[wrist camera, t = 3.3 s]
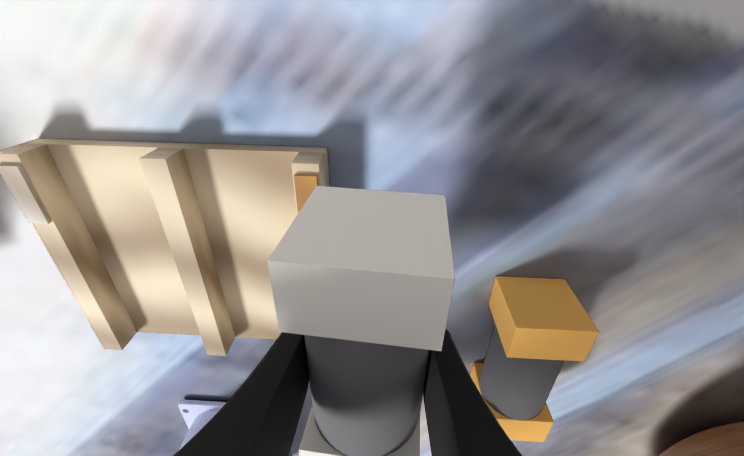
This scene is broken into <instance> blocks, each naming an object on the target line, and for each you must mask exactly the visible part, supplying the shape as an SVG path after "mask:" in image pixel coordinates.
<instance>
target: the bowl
mask: <svg viewBox="0 0 744 456" xmlns="http://www.w3.org/2000/svg"><path fill="white" fill-rule="evenodd" d="M659 456H744V422H737V423H732V424H726V425H722V426H718V427H714V428H710V429H707V430H704V431H701V432H698V433H696V434H693V435H691V436H689V437H687V438H685V439H683V440H681V441H679V442H677V443H675V444H674V445H672V446H671V447H669V448H668V449H667V450H665V451H664V452H663V453H661V454H660V455H659Z"/></svg>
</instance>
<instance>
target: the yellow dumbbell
mask: <svg viewBox="0 0 744 456" xmlns="http://www.w3.org/2000/svg"><path fill="white" fill-rule="evenodd" d="M489 306H490V309H491V312H492V315H493V318H494V321H495V325H494V328H493V332H492V335H491V339H490V343H489V346H488V350H487V354H486V357H485V361H484V363H474V364H473V368H472V372H471V378H472V380H473V382H474V383H475V385H476V387H477V389H478V390H479V392H480V394H481V396H482V397H483V399H484V401H485V402H486V404H487V405H488V407H489V409H490V410H491V412H492V413H493V415H494V416H495V418H496V420H497V421H498V423H499V424H500V426H501V427H502V428H503V430H504V431H505V433H506V434H507V436H508V437H509V439H510V440H521V441H536V442H544V441H545V439H546V437H547V435H548V433H549V431H550V429H551V427H552V425H553V423H554V421H553V419H552V416H551V414H550V411H549V409H548V406H547V404H546V400H547V398H548V396H549V393H550V391H551V389H552V387H553V385H554V383H555V380H556V378H557V376H558V374H559V372H560V369H561V367H562V365H563V363H564V361H584V362H585V360H586V358H587V356H588V354H589V352H590V350H591V348H592V346H593V344H594V342H595V340H596V338H597V336H598V334H599V330H598V329H597V327H596V326H595V324H594V323H593V321H592V320H591V318H590V317H589V315H588V314H587V312H586V311H585V309H584V308H583V306H582V305H581V303H580V302H579V300H578V298H577V297H576V295H575V294H574V292H573V291H572V289H571V288H570V286H569V285H568V283H567V282H566V280H565V279H549V278H527V277H504V276H496V277H495V281H494V285H493V289H492V293H491V297H490V300H489Z"/></svg>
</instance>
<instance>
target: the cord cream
mask: <svg viewBox="0 0 744 456" xmlns="http://www.w3.org/2000/svg"><path fill="white" fill-rule="evenodd" d="M267 262H268V268H269V274H270V280H271V286H272V292H273V298H274V304H275V310H276V316H277V322H278V328H279V332H285V333H293V334H301V335H304V336H305V345H306V354H307V363H308V372H309V380H310V389H311V398H312V406H311V410H310V413H309V416H308V420H307V423H306V427H305V430H304V433H303V437H302V440H301V444H300V447H299V454H300V456H419V455H420V409H421V403H422V397H423V390H424V384H425V378H426V372H427V366H428V359H429V353H430V350H435V351H441V350H442V345H443V339H444V334H445V329H446V323H447V318H448V313H449V307H450V302H451V297H452V291H453V286H454V281H455V277H454V268H453V260H452V251H451V243H450V234H449V226H448V217H447V209H446V200H445V195H432V194H419V193H405V192H392V191H379V190H366V189H352V188H339V187H326V186H316V187H315V189H314V190H313V192H312V193H311V195H310V196H309V198H308V199H307V201H306V202H305V204H304V205H303V207H302V209H301V210H300V212H299V213H298V215H297V216H296V218H295V219H294V221H293V222H292V224H291V225H290V227H289V228H288V230H287V231H286V233H285V234H284V236H283V237H282V239H281V240H280V242H279V243H278V245H277V246H276V248H275V250H274V251H273V253H272V254H271V256H270V257H269V259H268V260H267Z"/></svg>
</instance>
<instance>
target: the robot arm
mask: <svg viewBox="0 0 744 456" xmlns="http://www.w3.org/2000/svg"><path fill="white" fill-rule="evenodd" d="M308 383H309V372H308V363H307V354H306V345H305V336H304V335H301V334H293V333H285V332H281V334H280V335H279V337H278V338H277V340H276V341H275V343H274V344H273V345H272V347H271V348H270V350H269V351H268V352H267V354H266V355H265V356H264V358H263V359H262V360H261V361H260V363H259V364H258V365H257V367H256V368H255V369H254V371H253V372H252V373H251V374H250V376H249V377H248V378H247V379H246V380H245V382H244V383H243V384H242V385H241V386H240V387H239V389H238V390H237V391H236V392H235V393H234V394H233V396H232V397H231V398H230V399H229V400H228V401H227V402H216V401H199V400H181V401H180V403H179V405H178V406H179V409H180V411H181V413H182V415H183V417H184V419H185V422H186V424H187V426H188V428H189V431H188V433H187V435H186V437H185V439H184V441H183V443H182V445H181V447H180V449H179V451H178V452H177V453H175V454H174V455H173V456H288V455H289V452H290V449H291V445H292V442H293V438H294V435H295V431H296V428H297V425H298V421H299V418H300V414H301V411H302V407H303V404H304V400H305V397H306V393H307V388H308ZM423 395H424V405H425V412H426V419H427V426H428V433H429V439H430V446H431V453H432V456H522V455H521V454H520V452H519V451H518V450H517V448H516V447H515V445H514V444H513V443H512V441H511V440H510V439H509V437H508V436H507V434H506V433H505V431H504V430H503V428H502V427H501V426H500V424H499V423H498V421H497V420H496V418H495V416H494V415H493V413H492V412H491V410H490V409H489V407H488V405H487V404H486V402H485V401H484V399H483V397H482V396H481V394H480V392H479V390H478V389H477V387H476V385H475V383H474V382H473V380H472V378H471V376H470V375H469V373H468V371H467V369H466V367H465V365H464V363H463V361H462V359H461V357H460V355H459V353H458V351H457V349H456V347H455V345H454V342H453V340H452V338H451V335H450V333H449V331H448V330H447V329H445V334H444V339H443V345H442V350H441V351H435V350H430V353H429V359H428V366H427V372H426V378H425V384H424V390H423Z"/></svg>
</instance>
